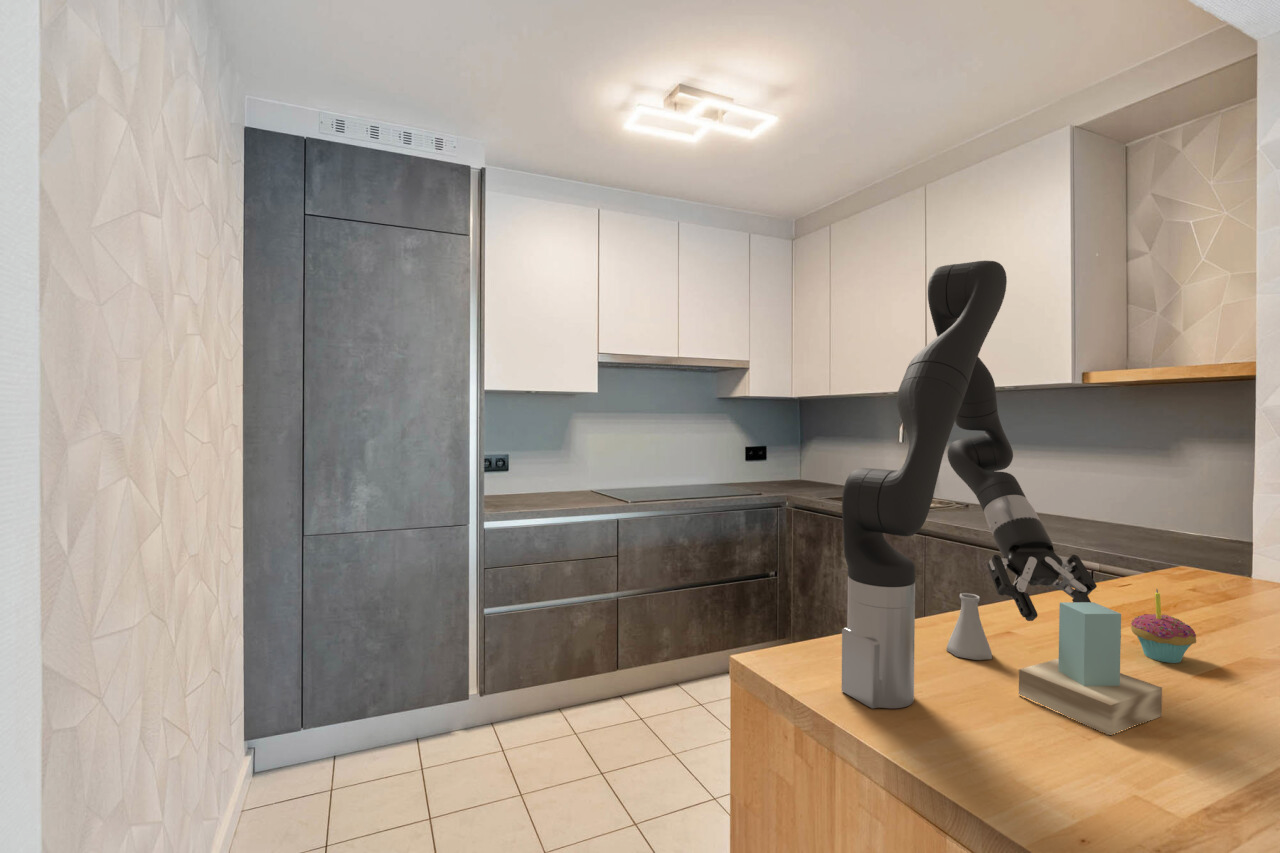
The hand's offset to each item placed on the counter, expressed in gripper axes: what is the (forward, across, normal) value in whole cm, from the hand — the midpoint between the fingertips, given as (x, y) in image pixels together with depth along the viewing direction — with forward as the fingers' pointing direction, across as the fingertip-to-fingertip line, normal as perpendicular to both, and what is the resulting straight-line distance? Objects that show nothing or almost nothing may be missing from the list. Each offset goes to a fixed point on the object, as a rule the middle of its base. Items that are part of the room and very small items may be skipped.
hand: (1061, 618), depth 92 cm
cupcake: (0, +25, +16) cm, 29 cm away
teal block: (+9, 0, 0) cm, 9 cm away
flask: (-2, -7, +17) cm, 18 cm away
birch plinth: (+12, 0, +3) cm, 12 cm away
